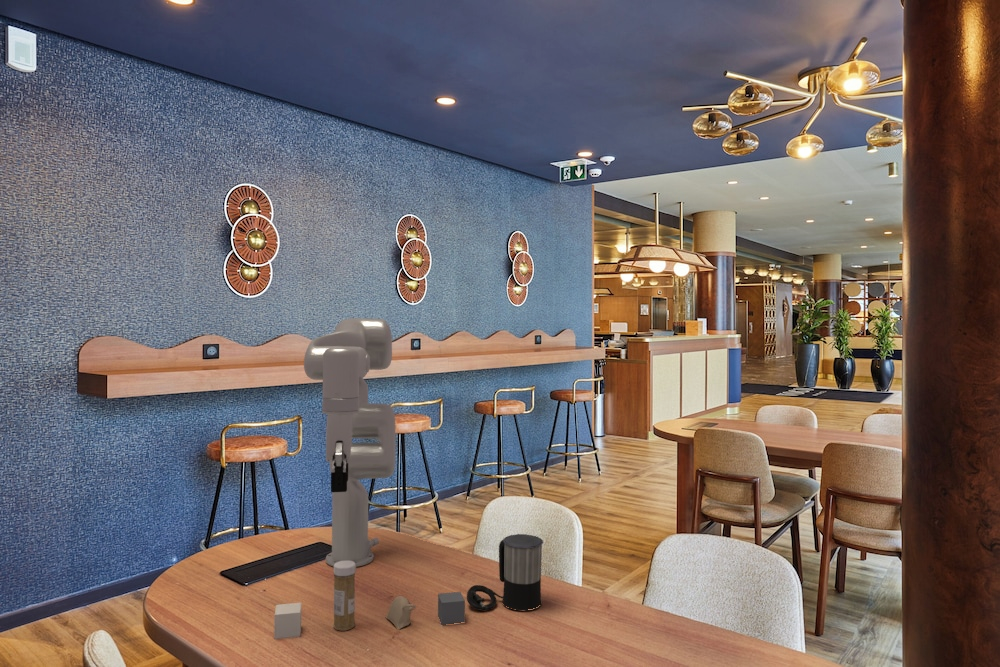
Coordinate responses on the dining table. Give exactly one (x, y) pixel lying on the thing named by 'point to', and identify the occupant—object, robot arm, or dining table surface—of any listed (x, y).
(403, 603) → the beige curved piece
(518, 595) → the milk frother
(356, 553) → the robot arm
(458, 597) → the charcoal block
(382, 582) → the dining table surface
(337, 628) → the sprinkles bottle
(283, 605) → the off-white block
